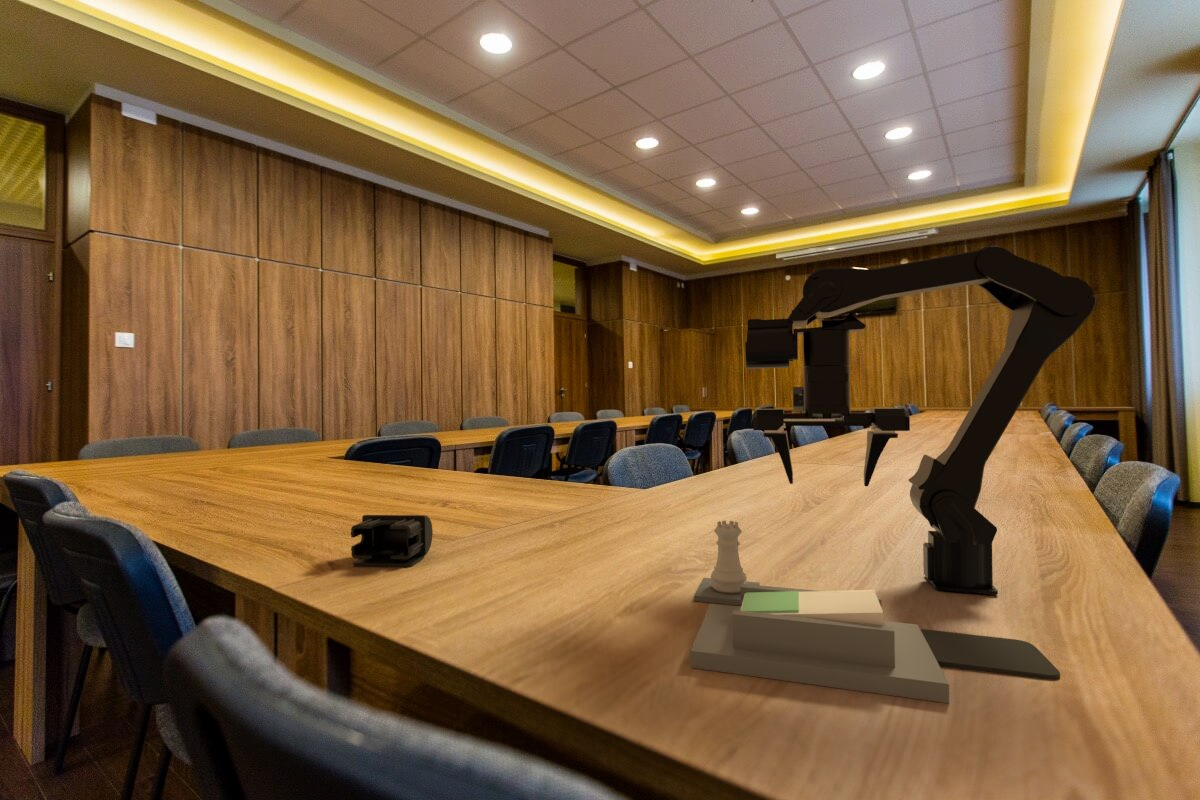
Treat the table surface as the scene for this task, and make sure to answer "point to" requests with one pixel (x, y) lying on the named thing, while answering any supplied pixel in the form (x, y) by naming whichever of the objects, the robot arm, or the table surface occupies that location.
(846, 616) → the rocker
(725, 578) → the rook chess piece
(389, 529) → the end cap
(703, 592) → the rubber pad
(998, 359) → the robot arm
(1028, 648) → the phone
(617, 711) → the table surface
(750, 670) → the grey stand
